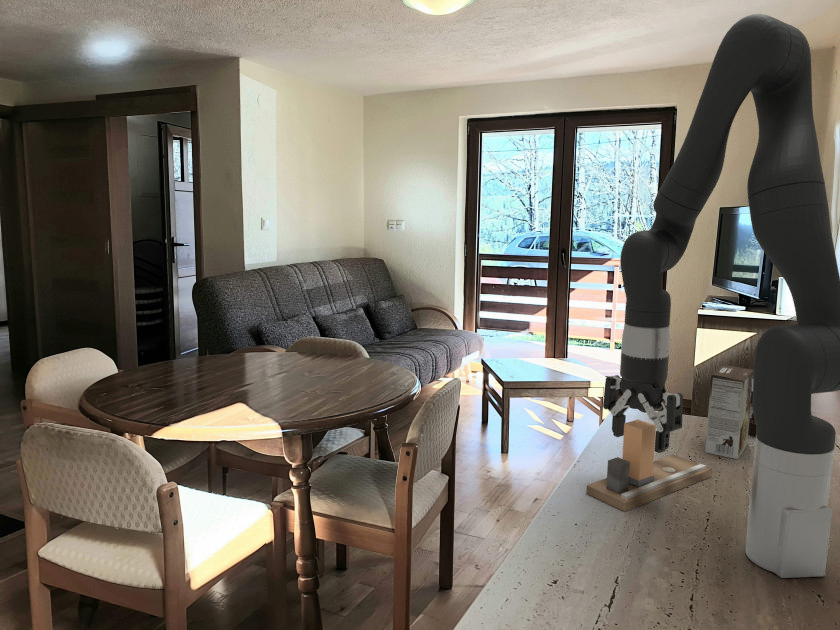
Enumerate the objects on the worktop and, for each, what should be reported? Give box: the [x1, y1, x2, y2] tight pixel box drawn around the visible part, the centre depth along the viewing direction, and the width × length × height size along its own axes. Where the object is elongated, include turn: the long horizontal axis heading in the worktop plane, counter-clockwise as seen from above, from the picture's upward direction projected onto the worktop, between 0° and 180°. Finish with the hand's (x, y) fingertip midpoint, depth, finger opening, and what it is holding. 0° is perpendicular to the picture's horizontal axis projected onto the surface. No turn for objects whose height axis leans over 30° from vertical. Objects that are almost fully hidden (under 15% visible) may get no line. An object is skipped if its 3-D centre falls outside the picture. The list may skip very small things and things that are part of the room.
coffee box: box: [704, 364, 753, 460], centre depth 130 cm, size 9×6×16 cm
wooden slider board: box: [585, 454, 713, 512], centre depth 115 cm, size 24×8×6 cm, turn 124°
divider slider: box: [621, 419, 657, 487], centre depth 112 cm, size 4×4×10 cm
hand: (638, 443), depth 112 cm, fingers open, 8 cm apart
